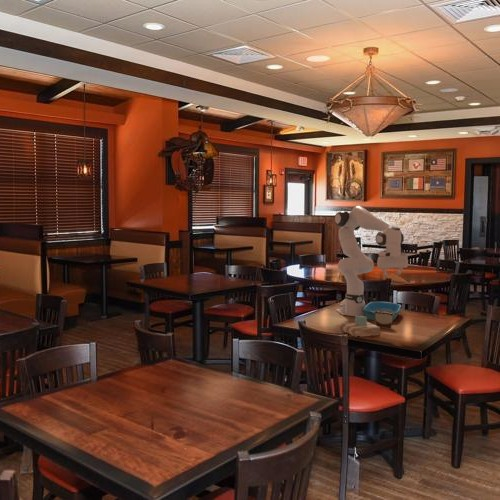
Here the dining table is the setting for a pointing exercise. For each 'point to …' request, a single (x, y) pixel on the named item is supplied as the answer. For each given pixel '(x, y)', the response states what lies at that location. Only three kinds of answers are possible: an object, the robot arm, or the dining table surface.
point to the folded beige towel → (360, 329)
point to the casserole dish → (374, 306)
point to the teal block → (361, 320)
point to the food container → (384, 318)
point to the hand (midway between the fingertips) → (392, 275)
